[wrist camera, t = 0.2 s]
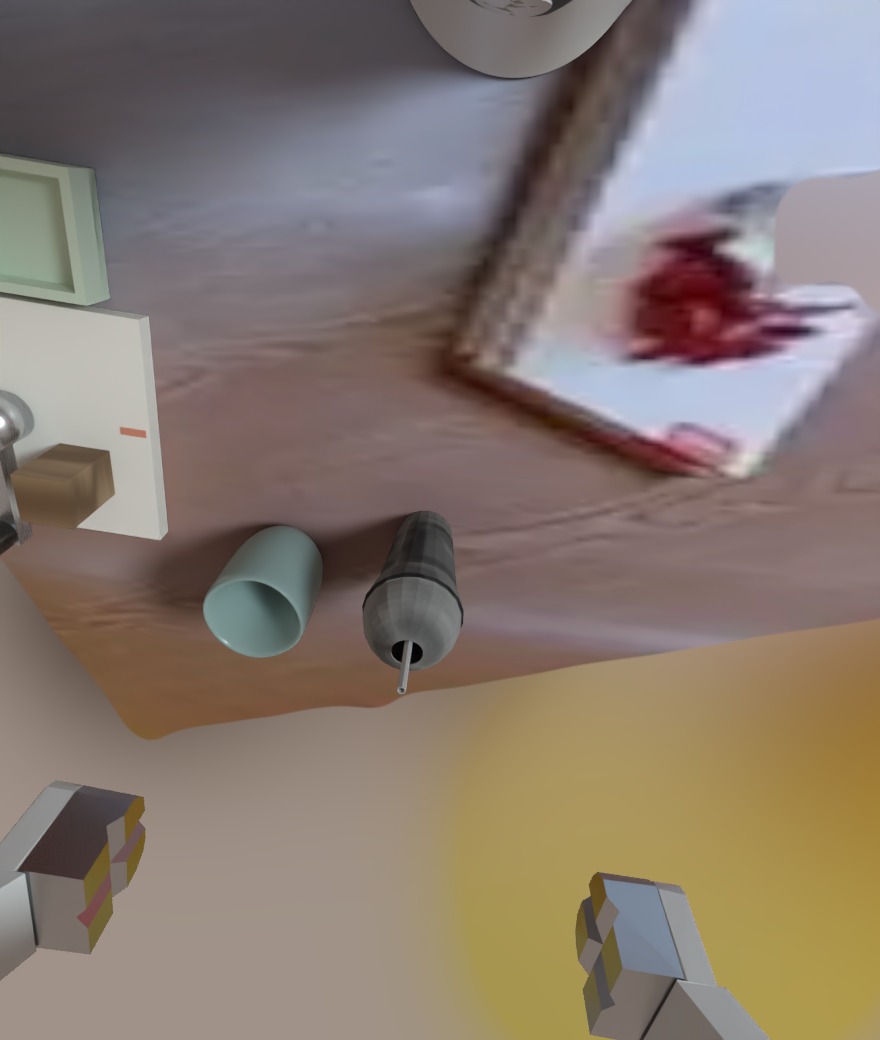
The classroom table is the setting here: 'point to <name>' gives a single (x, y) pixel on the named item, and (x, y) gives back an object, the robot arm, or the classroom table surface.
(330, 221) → the classroom table surface
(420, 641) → the beverage cup
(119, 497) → the crank plate
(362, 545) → the classroom table surface
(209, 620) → the cup
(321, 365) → the classroom table surface
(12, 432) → the crank
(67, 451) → the block
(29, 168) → the tray
